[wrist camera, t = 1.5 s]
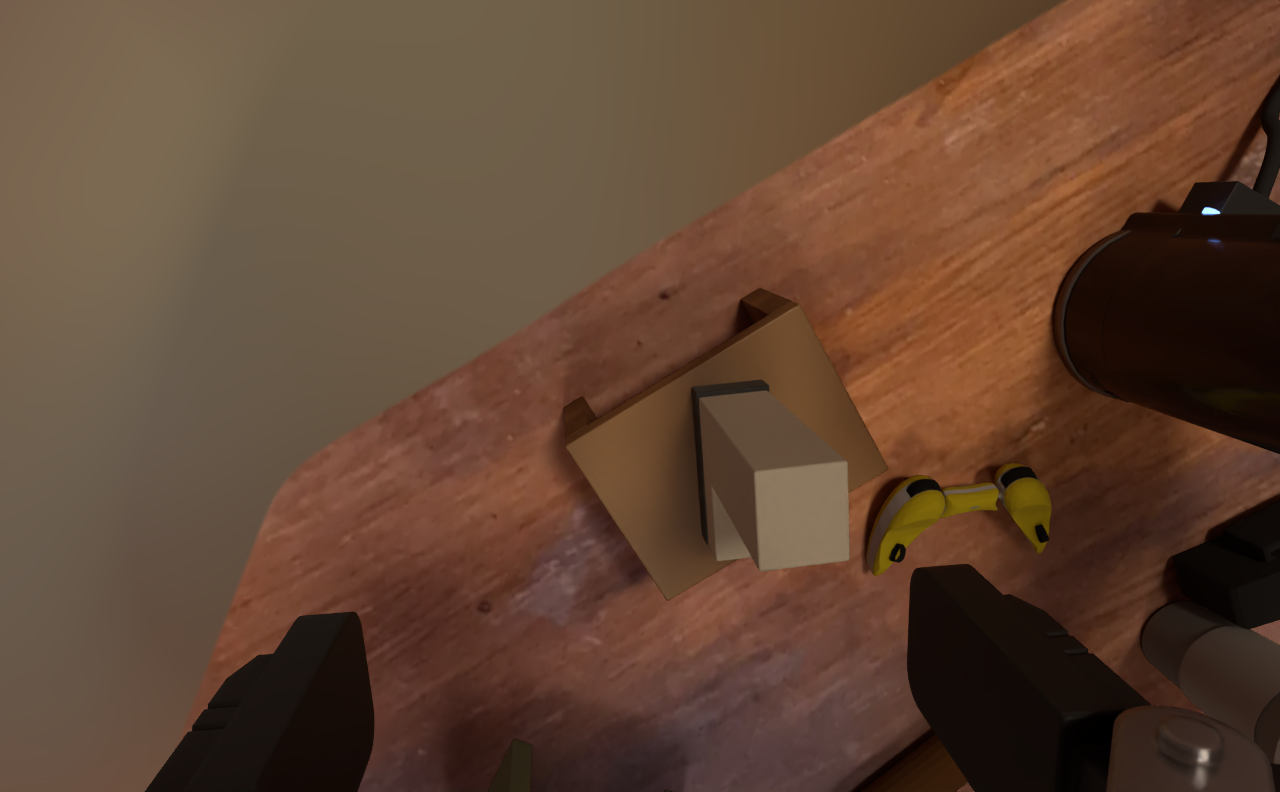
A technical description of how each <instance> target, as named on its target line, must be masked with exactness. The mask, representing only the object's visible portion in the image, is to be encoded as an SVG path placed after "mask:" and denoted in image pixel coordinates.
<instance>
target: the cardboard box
mask: <svg viewBox="0 0 1280 792" xmlns="http://www.w3.org/2000/svg"><path fill="white" fill-rule="evenodd" d="M741 302H742V303H743V305H744V307H745V309H746V311H747V312H748V314H749V316H750V318H751V319H752V321H753V323H754V324H753V325H752V326H750V327H748V328H747V329H745V330H743V331H742V332H740V333H738V334H737V335H735V336H733V337H732V338H730V339H729V340H727V341H725V342H724V343H722V344H720V345H719V346H717V347H715V348H714V349H712V350H710V351H709V352H707V353H705V354H704V355H702V356H701V357H699V358H697V359H696V360H694V361H692V362H691V363H689V364H687V365H686V366H684V367H682V368H681V369H679V370H678V371H676V372H674V373H673V374H671V375H669V376H668V377H666V378H664V379H663V380H661V381H659V382H658V383H656V384H654V385H653V386H651V387H650V388H648V389H646V390H645V391H643V392H641V393H640V394H638V395H636V396H635V397H633V398H631V399H630V400H628V401H627V402H625V403H623V404H622V405H620V406H618V407H617V408H615V409H613V410H612V411H610V412H608V413H607V414H605V415H603V416H602V417H600V418H599V419H597V417H596V416H595V414H594V413H593V411H592V410H591V408H590V407H589V405H588V403H587V402H586V400H585V399H584V397H583V396H582V397H580V398H578V399H577V400H575V401H573V402H572V403H570V404H568V405H567V406H565V407H564V425H565V446H566V449H567V450H568V452H569V453H570V455H571V456H572V458H573V459H574V461H575V462H576V464H577V465H578V467H579V468H580V470H581V471H582V473H583V474H584V476H585V477H586V479H587V480H588V482H589V483H590V485H591V486H592V488H593V489H594V491H595V493H596V494H597V496H598V497H599V499H600V500H601V502H602V503H603V505H604V506H605V508H606V509H607V511H608V512H609V514H610V515H611V517H612V518H613V520H614V521H615V523H616V524H617V526H618V527H619V529H620V530H621V532H622V533H623V535H624V536H625V538H626V539H627V541H628V542H629V544H630V545H631V547H632V548H633V550H634V552H635V553H636V555H637V556H638V558H639V559H640V561H641V562H642V564H643V565H644V567H645V568H646V570H647V571H648V573H649V574H650V576H651V577H652V579H653V580H654V582H655V583H656V585H657V586H658V588H659V589H660V591H661V592H662V594H663V595H664V597H665V598H666V600H667V601H669V600H670V599H672V598H674V597H675V596H677V595H679V594H680V593H682V592H684V591H685V590H687V589H689V588H690V587H692V586H694V585H695V584H697V583H699V582H700V581H702V580H704V579H705V578H707V577H709V576H710V575H712V574H714V573H715V572H717V571H719V570H720V569H722V568H724V567H726V566H727V565H729V564H731V563H732V562H734V561H736V560H737V559H732V560H724V561H716V559H715V557H714V555H713V552H712V550H711V548H710V546H709V544H706V542H705V540H704V538H703V536H702V533H701V519H700V504H699V490H698V476H697V462H696V448H695V434H694V419H693V405H692V391H691V388H692V387H695V386H705V385H714V384H724V383H733V382H742V381H752V380H763V381H764V382H766V383H767V384H768V385H769V393H770V394H771V395H772V396H774V397H775V398H776V399H777V400H778V401H779V402H780V403H782V404H783V405H784V406H785V407H786V408H787V409H788V410H790V411H791V412H792V413H793V414H794V415H795V416H796V417H798V418H799V419H800V420H801V421H802V422H803V423H804V424H806V425H807V426H808V427H809V428H810V429H811V430H812V431H813V432H815V433H816V434H817V435H818V436H819V437H820V438H821V439H823V440H824V441H825V442H826V443H827V444H828V445H829V446H831V447H832V448H833V449H834V450H835V451H836V452H837V453H839V454H840V455H841V456H842V457H843V458H844V459H845V460H846V461H847V462H848V493H849V492H851V491H853V490H854V489H856V488H858V487H859V486H861V485H863V484H865V483H866V482H868V481H870V480H871V479H873V478H875V477H876V476H878V475H880V474H881V473H883V472H885V471H886V470H888V466H887V465H886V463H885V461H884V459H883V457H882V455H881V454H880V452H879V450H878V448H877V446H876V444H875V442H874V441H873V439H872V437H871V435H870V433H869V431H868V429H867V428H866V426H865V424H864V422H863V420H862V418H861V416H860V415H859V413H858V411H857V409H856V407H855V405H854V403H853V402H852V400H851V398H850V396H849V394H848V392H847V391H846V389H845V387H844V385H843V383H842V381H841V379H840V378H839V376H838V374H837V372H836V370H835V368H834V366H833V365H832V363H831V361H830V359H829V357H828V355H827V353H826V352H825V350H824V348H823V346H822V344H821V342H820V340H819V339H818V337H817V335H816V333H815V331H814V329H813V328H812V326H811V324H810V322H809V320H808V318H807V316H806V315H805V313H804V311H803V309H802V307H801V305H800V304H798V303H795V302H793V301H791V300H789V299H786V298H784V297H781V296H779V295H776V294H774V293H771V292H769V291H767V290H764V289H762V288H759V289H757V290H755V291H754V292H752V293H750V294H749V295H747V296H745V297H744V298H742V299H741Z"/></svg>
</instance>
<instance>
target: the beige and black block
mask: <svg viewBox="0 0 1280 792" xmlns="http://www.w3.org/2000/svg"><path fill="white" fill-rule="evenodd" d="M691 391H692V405H693V419H694V434H695V448H696V462H697V476H698V490H699V504H700V519H701V533H702V536H703V538H704V540H705V542H706V544H709V546H710V548H711V550H712V552H713V555H714V557H715V559H716V561H724V560H732V559H740V558H749V557H752V559H753V561H754V562H755V564H756V566H757V568H758V569H759V571H769V570H776V569H784V568H792V567H800V566H808V565H816V564H824V563H832V562H840V561H848V560H849V559H850V547H849V503H848V462H847V461H846V460H845V459H844V458H843V457H842V456H841V455H840V454H839V453H837V452H836V451H835V450H834V449H833V448H832V447H831V446H829V445H828V444H827V443H826V442H825V441H824V440H823V439H821V438H820V437H819V436H818V435H817V434H816V433H815V432H813V431H812V430H811V429H810V428H809V427H808V426H807V425H806V424H804V423H803V422H802V421H801V420H800V419H799V418H798V417H796V416H795V415H794V414H793V413H792V412H791V411H790V410H788V409H787V408H786V407H785V406H784V405H783V404H782V403H780V402H779V401H778V400H777V399H776V398H775V397H774V396H772V395H771V394H770V393H769V385H768V384H767V383H766V382H764V381H763V380H752V381H742V382H733V383H724V384H714V385H705V386H695V387H692V388H691Z"/></svg>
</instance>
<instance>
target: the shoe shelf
mask: <svg viewBox="0 0 1280 792" xmlns="http://www.w3.org/2000/svg"><path fill="white" fill-rule="evenodd" d="M531 762H532V745H531V744H528V743H525V742H522V741H519V740H516V739H513V741H512V743H511V745H510V747H509V749H508V751H507V753H506V755H505V757H504V759H503V762H502V764H501V766H500V768H499V770H498V772H497V774H496V776H495V778H494V780H493V782H492V784H491V786H490V788H489V790H488V792H530V787H531ZM665 792H671V791H668V790H666V791H665Z"/></svg>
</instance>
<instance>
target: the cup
mask: <svg viewBox="0 0 1280 792" xmlns="http://www.w3.org/2000/svg"><path fill="white" fill-rule="evenodd" d="M1142 649H1143V652H1144V655H1145V657H1146V658H1147V660H1148V661H1149V662H1150V663H1151V664H1152V665H1154V666H1155V667H1156V668H1157V669H1158V670H1159V671H1160V672H1162V673H1163V674H1164V675H1165V676H1166V677H1167V678H1168V679H1170V680H1171V681H1172V682H1173V683H1174V684H1175V685H1176V686H1178V687H1179V688H1180V689H1181V690H1182V691H1183V693H1184V695H1185V696H1186V697H1187V698H1188V699H1189V700H1190V701H1191V702H1192V703H1193V704H1194V705H1196V706H1197V707H1198V708H1199V709H1200V710H1201V711H1202V712H1204V713H1205V714H1206V715H1207V716H1209V717H1211V718H1214V719H1216V720H1218V721H1221V722H1223V723H1225V724H1227V725H1229V726H1231V727H1232V728H1234V729H1236V730H1238V731H1239V732H1241V733H1242V734H1244V735H1245V736H1247V737H1248V738H1249V739H1251V740H1252V741H1253V742H1254V743H1255V744H1257V745H1258V746H1259V748H1260V749H1261V750H1262V751H1263V752H1264V753H1265V755H1266V756H1267V758H1268V759H1269V761H1270V763H1273V764H1280V645H1279V644H1277V643H1275V642H1273V641H1271V640H1269V639H1267V638H1266V637H1264V636H1262V635H1260V634H1258V633H1256V632H1254V631H1253V630H1251V629H1245V628H1241V627H1239V626H1237V625H1235V624H1233V623H1231V622H1230V621H1228V620H1226V619H1225V618H1223V617H1221V616H1220V615H1218V614H1216V613H1214V612H1212V611H1210V610H1209V609H1207V608H1205V607H1203V606H1201V605H1199V604H1197V603H1194V602H1190V601H1181V602H1176V603H1172V604H1169V605H1167V606H1165V607H1164V608H1162V609H1161V610H1159V611H1158V612H1157V613H1156V614H1155V615H1154V616H1153V617H1152V618H1151V619H1150V620H1149V622H1148V623H1147V625H1146V627H1145V629H1144V632H1143V636H1142Z"/></svg>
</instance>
